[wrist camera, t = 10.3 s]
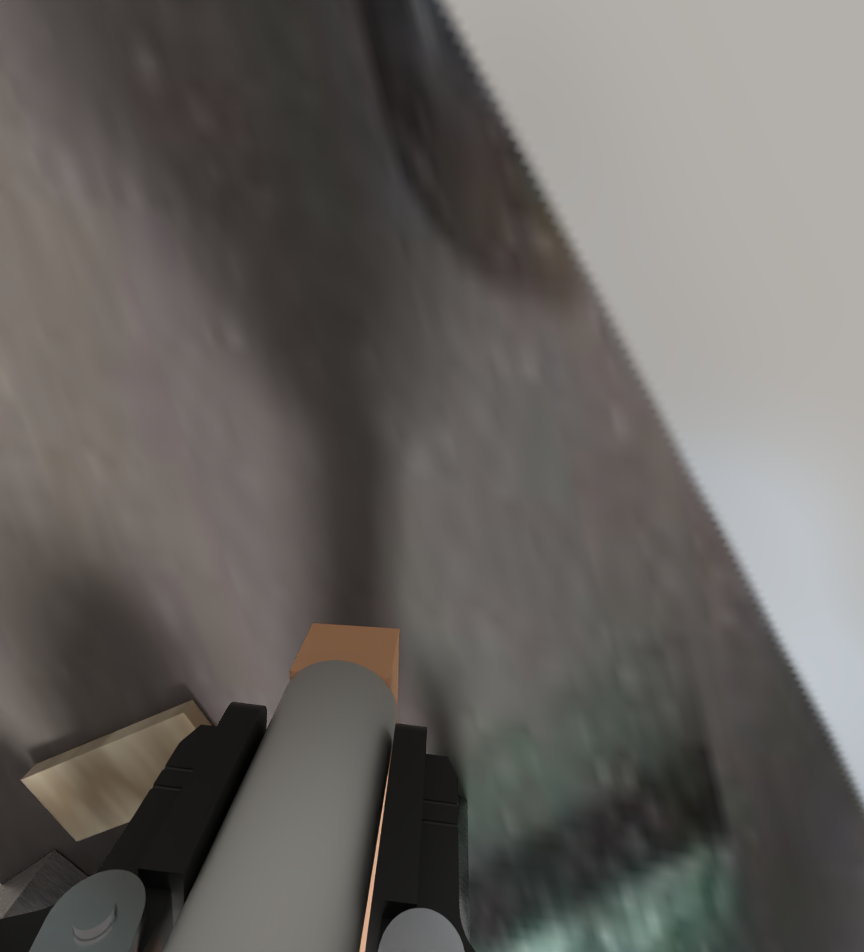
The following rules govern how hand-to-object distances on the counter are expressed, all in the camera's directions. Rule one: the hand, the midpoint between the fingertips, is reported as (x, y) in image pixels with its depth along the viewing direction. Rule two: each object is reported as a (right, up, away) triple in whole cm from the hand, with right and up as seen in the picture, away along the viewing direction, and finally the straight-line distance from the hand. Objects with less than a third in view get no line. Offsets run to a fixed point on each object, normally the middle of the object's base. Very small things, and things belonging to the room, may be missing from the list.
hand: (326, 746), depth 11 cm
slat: (-6, -4, +9) cm, 11 cm away
